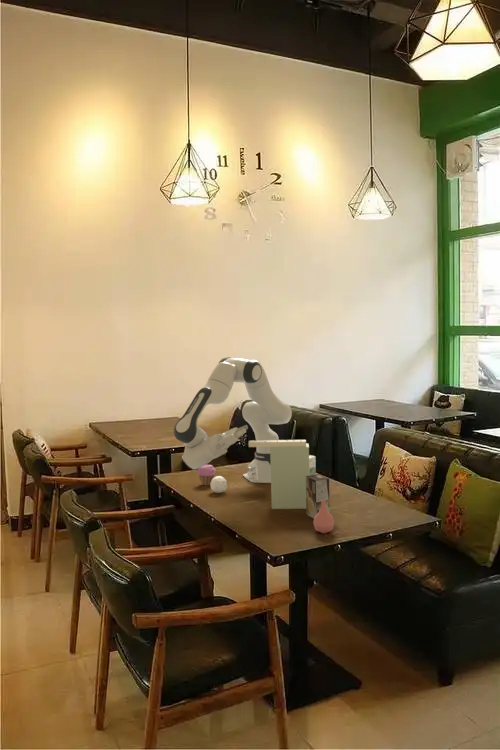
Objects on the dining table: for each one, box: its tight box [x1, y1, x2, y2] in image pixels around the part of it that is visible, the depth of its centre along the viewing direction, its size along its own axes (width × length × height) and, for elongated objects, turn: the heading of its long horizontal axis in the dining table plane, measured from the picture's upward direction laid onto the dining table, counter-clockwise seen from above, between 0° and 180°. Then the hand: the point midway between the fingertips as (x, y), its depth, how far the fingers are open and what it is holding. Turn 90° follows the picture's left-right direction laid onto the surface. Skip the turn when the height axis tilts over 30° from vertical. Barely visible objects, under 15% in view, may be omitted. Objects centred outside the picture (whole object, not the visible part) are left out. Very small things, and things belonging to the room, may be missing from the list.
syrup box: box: [309, 454, 317, 476], centre depth 307 cm, size 6×6×14 cm
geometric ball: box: [209, 475, 228, 494], centre depth 301 cm, size 8×8×8 cm
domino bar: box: [248, 439, 307, 448], centre depth 275 cm, size 24×4×2 cm, turn 86°
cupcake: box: [197, 463, 217, 486], centre depth 316 cm, size 9×9×10 cm
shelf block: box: [270, 442, 310, 510], centre depth 276 cm, size 16×8×26 cm, turn 86°
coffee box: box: [305, 473, 331, 519], centre depth 261 cm, size 9×6×16 cm
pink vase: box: [312, 500, 335, 534], centre depth 241 cm, size 8×8×12 cm
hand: (246, 428), depth 272 cm, fingers open, 8 cm apart
